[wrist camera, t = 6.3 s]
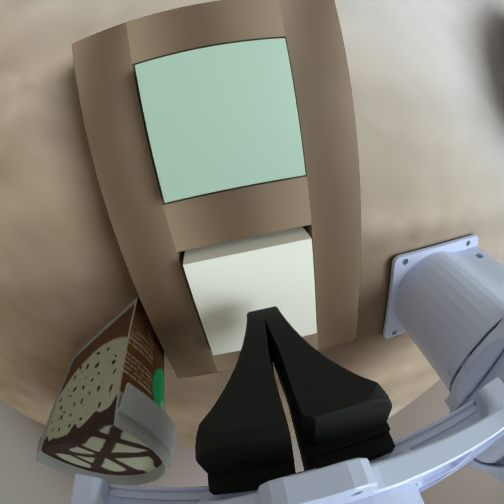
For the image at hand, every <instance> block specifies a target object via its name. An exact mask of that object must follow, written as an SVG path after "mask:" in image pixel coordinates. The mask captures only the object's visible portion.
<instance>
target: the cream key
mask: <svg viewBox="0 0 504 504" xmlns="http://www.w3.org/2000/svg"><path fill="white" fill-rule="evenodd" d="M183 267H184V270H185V274H186V277H187V280H188V283H189V286H190V289H191V292H192V295H193V298H194V301H195V304H196V307H197V310H198V313H199V316H200V319H201V322H202V325H203V328H204V331H205V333H206V336H207V339H208V342H209V345H210V347H211V350H212V353H213V355H218V354H224V353H229V352H235V351H240V350H241V348H242V345H243V341H244V336H245V331H246V325H247V313H248V312H251V311H255V310H260V309H265V308H270V307H274V306H276V307H277V308H278V309H279V310H280V312H281V313H282V315H283V316H284V318H285V319H286V320H287V321H288V322H289V324H290V325H291V326H292V327H293V328H294V329H295V330H296V331H297V332H298V333H299V335H300V336H301V337H303V336H307V335H311V334H315V333H317V326H316V301H315V282H314V265H313V251H312V238H311V237H310V236H309V234H308V233H307V232H306V230H305V229H304V228H303V227H297V228H292V229H287V230H282V231H277V232H272V233H267V234H262V235H257V236H252V237H247V238H242V239H237V240H233V241H228V242H223V243H218V244H213V245H209V246H204V247H199V248H194V249H190V250H185V254H184V260H183Z"/></svg>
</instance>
